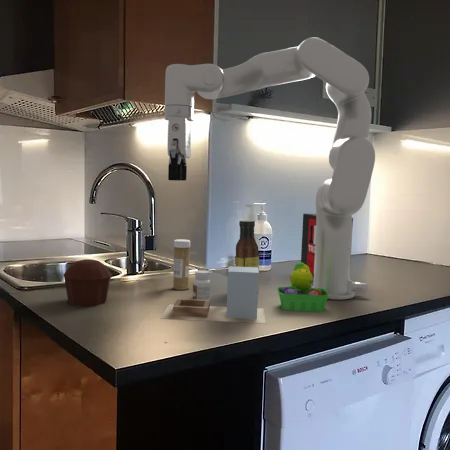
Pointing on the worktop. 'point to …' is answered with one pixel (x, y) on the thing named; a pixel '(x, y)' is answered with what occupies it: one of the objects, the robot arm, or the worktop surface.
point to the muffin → (87, 283)
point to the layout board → (204, 312)
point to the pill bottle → (202, 286)
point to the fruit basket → (302, 292)
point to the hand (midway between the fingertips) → (177, 180)
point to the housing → (242, 292)
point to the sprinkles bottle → (181, 264)
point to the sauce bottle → (247, 246)
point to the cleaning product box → (309, 241)
